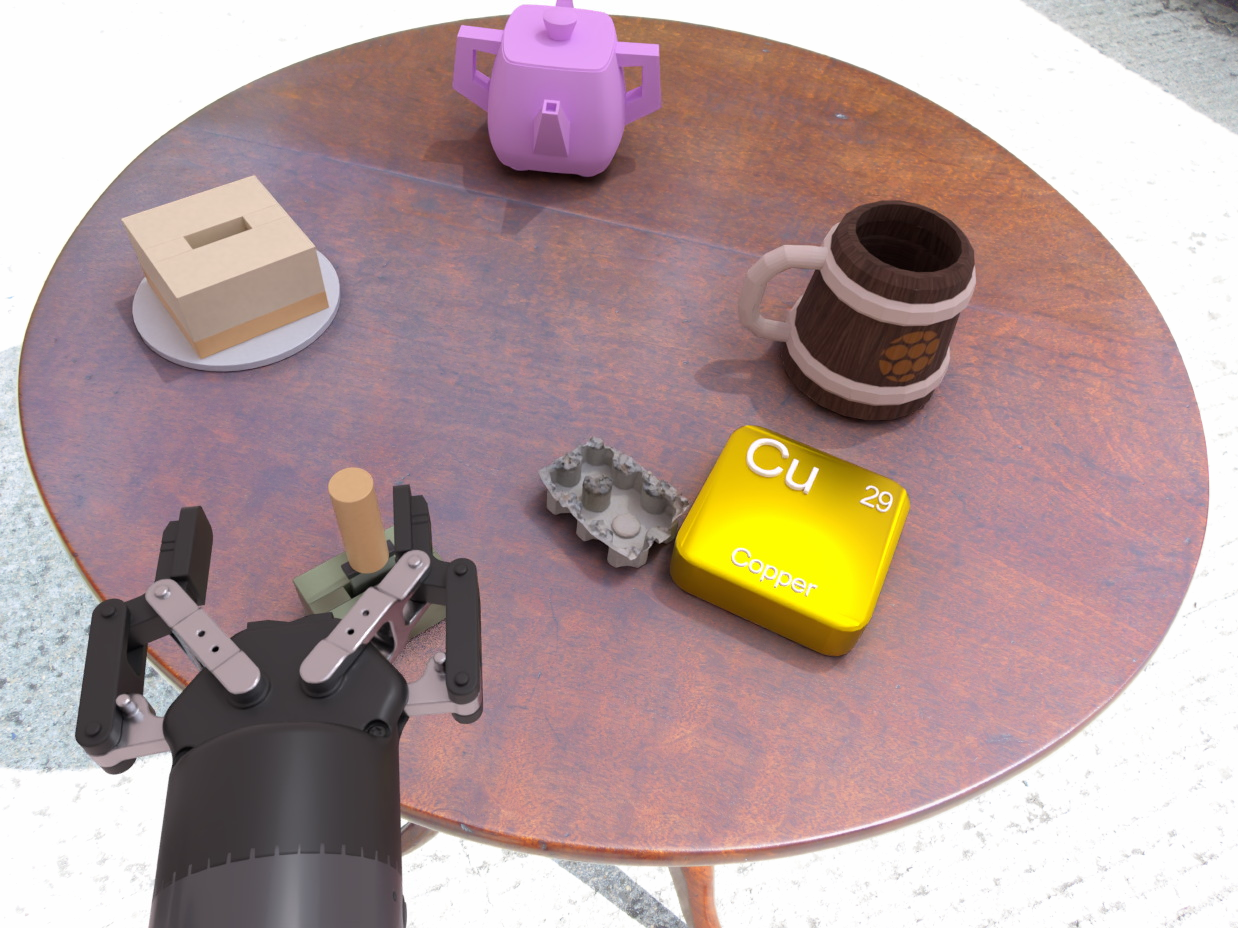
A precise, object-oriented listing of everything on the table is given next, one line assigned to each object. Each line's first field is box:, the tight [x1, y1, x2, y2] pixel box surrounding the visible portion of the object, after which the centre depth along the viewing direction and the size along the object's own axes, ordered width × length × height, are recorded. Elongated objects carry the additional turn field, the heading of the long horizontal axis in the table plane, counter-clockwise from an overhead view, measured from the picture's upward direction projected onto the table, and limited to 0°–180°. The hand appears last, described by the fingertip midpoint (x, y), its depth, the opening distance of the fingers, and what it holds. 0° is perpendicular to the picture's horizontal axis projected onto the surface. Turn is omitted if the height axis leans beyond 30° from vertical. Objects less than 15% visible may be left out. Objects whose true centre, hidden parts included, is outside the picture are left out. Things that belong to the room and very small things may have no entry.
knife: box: [327, 467, 396, 597], centre depth 60 cm, size 4×3×16 cm
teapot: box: [451, 0, 662, 178], centre depth 98 cm, size 19×18×15 cm
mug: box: [737, 199, 977, 421], centre depth 80 cm, size 20×15×15 cm
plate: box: [132, 248, 342, 373], centre depth 84 cm, size 18×18×1 cm
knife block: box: [292, 524, 446, 641], centre depth 64 cm, size 9×6×5 cm, turn 128°
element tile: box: [669, 424, 911, 657], centre depth 71 cm, size 15×15×5 cm
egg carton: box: [538, 435, 690, 569], centre depth 72 cm, size 11×8×4 cm
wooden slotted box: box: [120, 174, 329, 359], centre depth 81 cm, size 12×12×7 cm
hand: (302, 506), depth 39 cm, fingers open, 8 cm apart
